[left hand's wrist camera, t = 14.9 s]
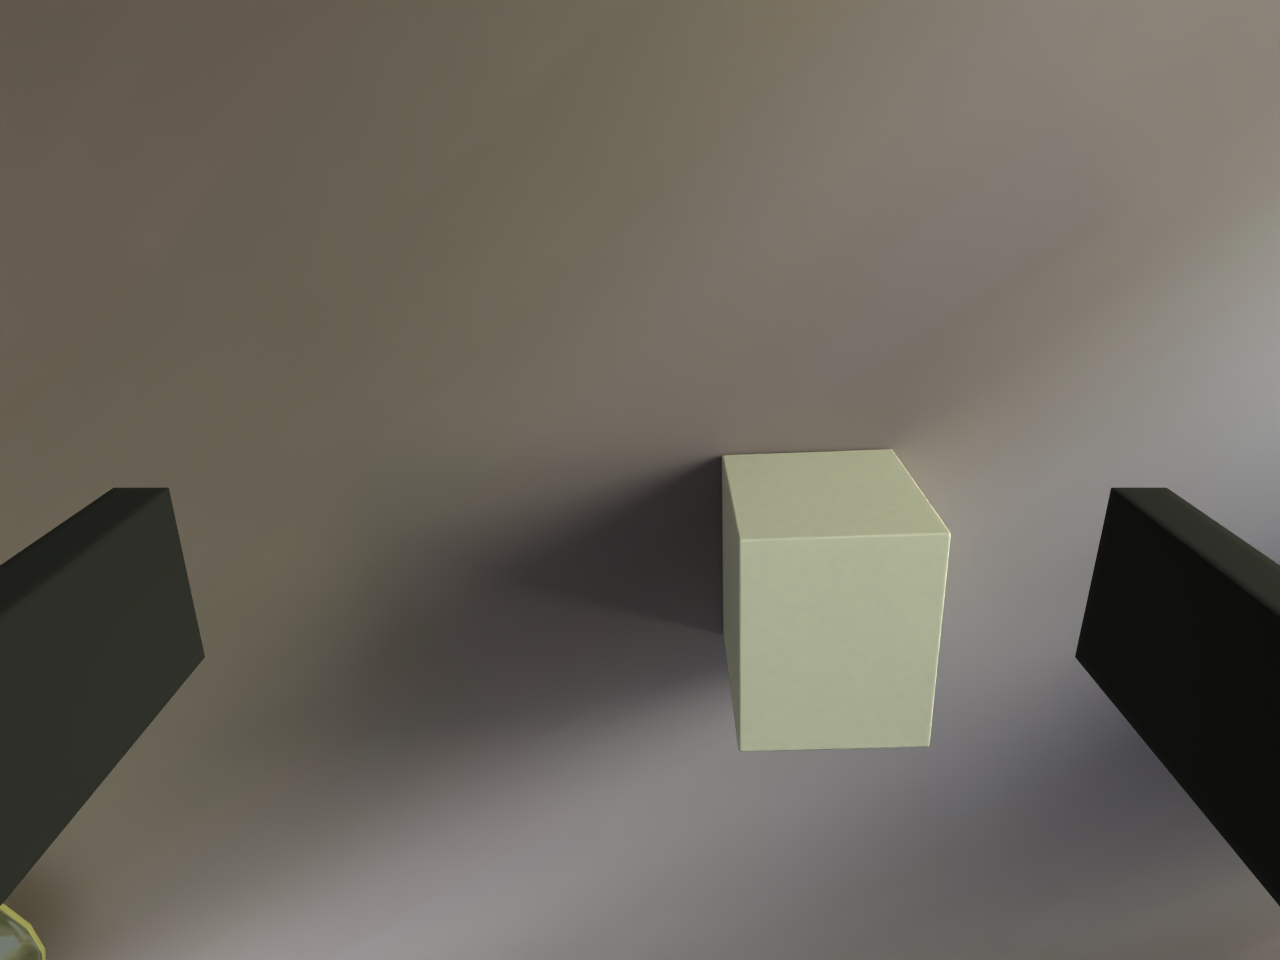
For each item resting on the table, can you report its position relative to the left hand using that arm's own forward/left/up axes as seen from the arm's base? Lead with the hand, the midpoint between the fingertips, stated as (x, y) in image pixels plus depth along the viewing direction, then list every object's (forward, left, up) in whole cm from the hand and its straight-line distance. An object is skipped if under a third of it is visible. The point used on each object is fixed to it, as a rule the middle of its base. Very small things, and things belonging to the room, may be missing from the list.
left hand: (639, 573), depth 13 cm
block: (-9, +8, -21) cm, 24 cm away
